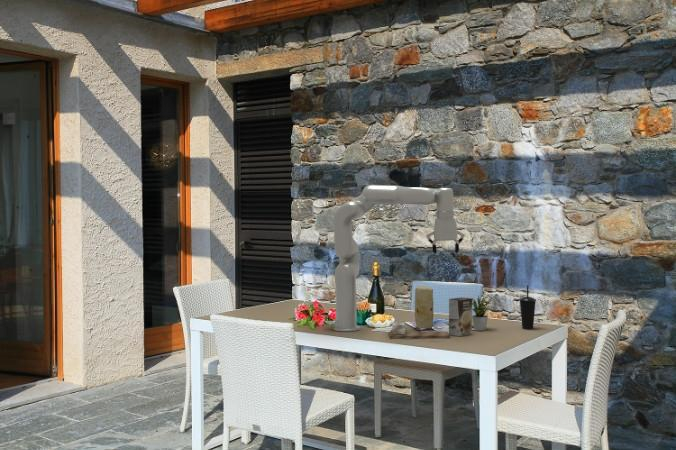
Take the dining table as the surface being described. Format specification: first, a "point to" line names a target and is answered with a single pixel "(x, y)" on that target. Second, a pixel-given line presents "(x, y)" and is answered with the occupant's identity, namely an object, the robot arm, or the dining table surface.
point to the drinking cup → (527, 311)
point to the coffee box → (460, 316)
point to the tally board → (420, 335)
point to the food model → (424, 307)
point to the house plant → (480, 314)
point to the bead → (398, 328)
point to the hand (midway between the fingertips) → (445, 253)
